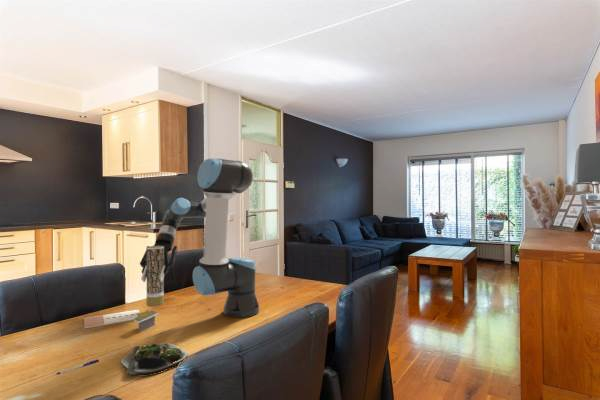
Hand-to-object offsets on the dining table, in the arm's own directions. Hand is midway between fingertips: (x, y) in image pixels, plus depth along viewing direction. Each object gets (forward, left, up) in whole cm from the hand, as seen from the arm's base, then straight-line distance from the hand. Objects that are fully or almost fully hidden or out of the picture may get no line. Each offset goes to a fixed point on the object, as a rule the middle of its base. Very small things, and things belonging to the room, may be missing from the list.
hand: (152, 280), depth 142 cm
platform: (-15, +5, -15) cm, 22 cm away
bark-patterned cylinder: (+3, -2, -12) cm, 12 cm away
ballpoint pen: (-37, +26, -15) cm, 48 cm away
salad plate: (-45, +7, -15) cm, 48 cm away
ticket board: (+3, +14, -14) cm, 20 cm away
